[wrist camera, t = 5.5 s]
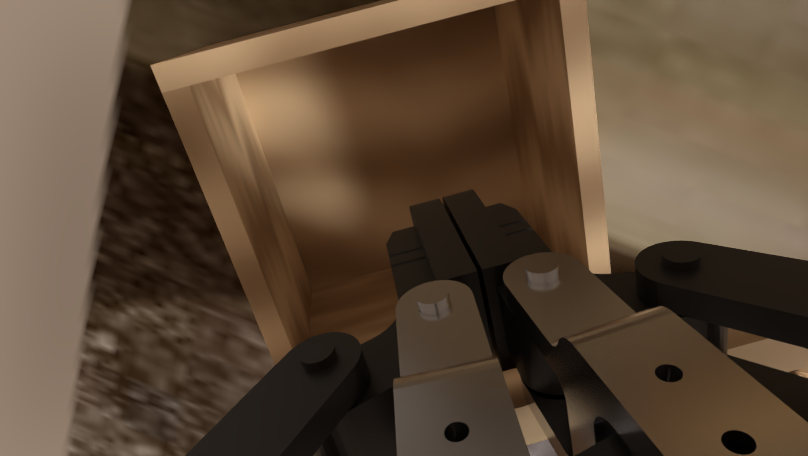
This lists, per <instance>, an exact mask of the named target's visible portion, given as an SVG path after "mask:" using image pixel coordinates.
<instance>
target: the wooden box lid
mask: <svg viewBox="0 0 808 456" xmlns="http://www.w3.org/2000/svg"><path fill="white" fill-rule="evenodd" d="M727 355H731V356H734V357H738V358H741V359H744V360H748V361H751V362H754V363H758V364H761V365H765V366H768V367H771V368H775V369H778V370H782V371H785V372H790V371H794V370H797V369H801V368H804V367H808V349H806V348H803V347H799V346H795V345H791V344H787V343H784V342H780V341H776V340H772V339H768V338H765V337H761V336H757V335H753V334H750V333H746V332H742V331H738V330H734V329H731V328H728V350H727ZM494 356H495V355H494ZM503 376H504V379H505V382H506V385H507V388H508V391H509V394H510V397H511V400H512V403H513V406H514V409H515V412H516V415H517V418H518V421H519V424H520V427H521V430H522V433H523V436H524V439H525V442H526V445H529V444H533V443H536V442H540V441H543V440H547V439H548V438H547V437H546V435H545V433H544V431H543V430H542V428H541V426H540V425H539V423H538V421H537V420H536V418H535V416H534V414H533V413H532V411H531V409H530V408H529V406H528V404H527V403H526V401H525V398H524V394H523V389H522V383H521V377H520V374H519V372H518V370H517V368H514V369H510V370H507V371H503ZM313 456H314V455H313Z"/></svg>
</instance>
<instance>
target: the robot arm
mask: <svg viewBox="0 0 808 456" xmlns="http://www.w3.org/2000/svg"><path fill="white" fill-rule="evenodd" d="M442 202H443V204H442ZM442 202H441V200H440V199H439V198H438V199H434V200H431V201H427V202H423V203H420V204H416V205H412V206H409V209H410V213H411V217H412V221H413V225H414V226H413V227H409V228H405V229H402V230H398V231H394V232H392V234H391V236H390V238H389V240H388V242H387V243H386V247H387V251H388V255H389V260H390V264H391V269H392V273H393V278H394V282H395V287H396V291H397V296H398V300H399V301H398V302H397V305H396V309H395V313H396V319H395V321H394V322H393V323H392V324H391V325H390V326H389V327H388V328H387V329H386V330H385V331H384V332H382V333H381V334H379V335H378V336H376V337H374V338H372V339H370V340H368V341H366V342H364V343H362V344H360V342H359V341H358V339H356V338H355V337H354V336H352V335H350V334H347V333H343V332H329V333H323V334H319V335H316V336H313V337H311V338H309V339H306V340H305V341H303V342H301V343H299V344H298V345H297V346H295V347H294V348H293V349H291V350H290V351H289V352H288V353H287V354H286V355H285V356H284V357H283V358H282V359H281V360H280V361H279V362H278V363H277V364H276V365H275V366H274V367H273V368H272V369H271V370H270V371H269V372H268V373H267V374H266V375H265V376H264V377H263V378H262V379H261V380H260V381H259V382H258V383H257V384H256V385H255V386H254V387H253V388H252V389H251V390H250V391H249V392H248V393H247V394H246V395H245V396H244V397H243V398H242V399H241V400H240V401H239V402H238V403H237V404H236V405H235V406H234V407H233V408H232V409H231V410H230V411H229V412H228V413H227V414H226V415H225V416H224V417H223V418H222V419H221V420H220V421H219V422H218V423H217V424H216V425H215V426H214V427H213V428H212V429H211V430H210V431H209V432H208V433H207V434H206V435H205V436H204V437H203V438H202V439H201V440H200V441H199V442H198V443H197V444H196V445H195V446H194V447H193V449H192V450H191V451H190V452H189V453H188V454H187V455H186V456H313V455H314V456H530V454H529V451H528V448H527V445H526V442H525V439H524V436H523V433H522V430H521V427H520V424H519V421H518V418H517V415H516V412H515V409H514V406H513V403H512V400H511V397H510V394H509V391H508V388H507V385H506V382H505V379H504V376H503V371H507V370H510V369H514V368H517V370H518V372H519V374H520V377H521V383H522V389H523V394H524V398H525V401H526V403H527V404H528V406H529V408H530V409H531V411H532V413H533V414H534V416H535V418H536V420H537V421H538V423H539V425H540V426H541V428H542V430H543V431H544V433H545V435H546V437H547V438H548V440H549V442H550V443H551V445H552V447H553V448H554V450H555V452H556V453H557V455H558V456H808V378H805V377H802V376H799V375H795V374H792V373H788V372H785V371H782V370H778V369H775V368H771V367H768V366H765V365H761V364H758V363H754V362H751V361H748V360H744V359H741V358H738V357H734V356H731V355H727V350H728V328H731V329H734V330H738V331H742V332H746V333H750V334H753V335H757V336H761V337H765V338H768V339H772V340H776V341H780V342H784V343H787V344H791V345H795V346H799V347H803V348H806V349H808V261H806V260H800V259H794V258H788V257H782V256H776V255H770V254H765V253H759V252H753V251H747V250H741V249H735V248H729V247H723V246H718V245H712V244H706V243H700V242H693V241H669V242H663V243H658V244H655V245H652V246H650V247H647V248H646V249H644V250H642V251H641V252H640V253H639V254H638V256H637V257H636V260H635V269H636V272H625V273H612V274H593V273H592V272H591V271H590V270H589V269H588V268H586V267H585V266H584V265H583V264H582V263H581V262H580V261H579V260H577V259H576V258H574V257H572V256H569V255H566V254H562V253H555V252H552V251H551V250H550V249H549V248H548V246H547V245H546V244H545V243H544V242H543V240H542V239H541V238H540V237H539V236H538V234H537V233H536V232H535V231H534V230H532V227H531V226H530V225H529V224H528V222H527V221H525V219H524V218H523V216H522V215H521V214H520V213H519V212H518V210H517V209H515V208H512V207H510V206H507V205H505V204H502V203H498V204H494V205H491V206H487V207H485V205H484V204H483V202H482V201H481V200H480V198H479V197H478V195H477V194H476V192H475V191H474V190H473V189H471V190H468V191H464V192H460V193H457V194H453V195H449V196H445V197H442ZM494 355H495V356H494Z"/></svg>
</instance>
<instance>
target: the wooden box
mask: <svg viewBox="0 0 808 456" xmlns="http://www.w3.org/2000/svg"><path fill="white" fill-rule="evenodd" d="M150 66H151V68H152V71H153V73H154V75H155V78H156V80H157V83H158V85H159V87H160V90H161V92H162V95H163V97H164V100H165V102H166V104H167V107H168V109H169V112H170V114H171V116H172V119H173V121H174V124H175V126H176V128H177V131H178V133H179V136H180V138H181V140H182V143H183V145H184V148H185V150H186V152H187V155H188V157H189V160H190V162H191V164H192V167H193V169H194V172H195V174H196V176H197V179H198V181H199V184H200V186H201V188H202V191H203V193H204V196H205V198H206V200H207V203H208V205H209V208H210V210H211V212H212V215H213V217H214V220H215V222H216V224H217V227H218V229H219V232H220V234H221V236H222V239H223V241H224V244H225V246H226V248H227V251H228V253H229V256H230V258H231V261H232V263H233V265H234V268H235V270H236V273H237V275H238V277H239V280H240V282H241V285H242V287H243V289H244V292H245V294H246V297H247V299H248V301H249V304H250V306H251V309H252V311H253V313H254V316H255V318H256V321H257V323H258V325H259V328H260V330H261V333H262V335H263V337H264V340H265V342H266V345H267V347H268V349H269V352H270V354H271V357H272V359H273V361H274V364H275V365H276V364H277V363H278V362H279V361H280V360H281V359H282V358H283V357H284V356H285V355H286V354H287V353H288V352H289V351H290V350H291V349H293V348H294V347H295V346H297V345H298V344H299V343H301V342H303V341H305V340H306V339H309V338H311V337H313V336H316V335H319V334H323V333H329V332H343V333H347V334H350V335H352V336H354V337H355V338H356V339H358V341H359V342H360V344H362V343H364V342H366V341H368V340H370V339H372V338H374V337H376V336H378V335H379V334H381V333H382V332H384V331H385V330H386V329H387V328H388V327H389V326H390V325H391V324H392V323H393V322H394V321H395V319H396V313H395V309H396V305H397V302H398V301H399V300H398V296H397V291H396V287H395V282H394V278H393V273H392V269H391V264H390V260H389V255H388V251H387V247H386V243H387V242H388V240H389V238H390V236H391V234H392V232H394V231H398V230H402V229H405V228H409V227H413V226H414V225H413V221H412V217H411V213H410V209H409V206H412V205H416V204H420V203H423V202H427V201H431V200H434V199H438V198H439V199H440V200H441V202H442V197H445V196H449V195H453V194H457V193H460V192H464V191H468V190H471V189H473V190H474V191H475V192H476V194H477V195H478V197H479V198H480V200H481V201H482V202H483V204H484V205H485V207H487V206H491V205H494V204H498V203H502V204H505V205H507V206H510V207H512V208H515V209H517V210H518V212H519V213H520V214H521V215H522V216H523V218H524V219H525V221H527V222H528V224H529V225H530V226H531V227H532V230H534V231H535V232H536V233H537V234H538V236H539V237H540V238H541V239H542V240H543V242H544V243H545V244H546V245H547V246H548V248H549V249H550V250H551V251H552V252H555V253H562V254H566V255H569V256H572V257H574V258H576V259H577V260H579V261H580V262H581V263H582V264H583V265H584V266H585V267H586V268H588V269H589V270H590V271H591V272H592V273H593V274H611V268H610V257H609V246H608V235H607V224H606V213H605V202H604V191H603V180H602V169H601V158H600V148H599V137H598V126H597V115H596V104H595V93H594V82H593V71H592V60H591V49H590V38H589V27H588V16H587V5H586V0H380V1H376V2H372V3H368V4H365V5H361V6H357V7H353V8H349V9H345V10H342V11H338V12H334V13H330V14H326V15H322V16H319V17H315V18H311V19H307V20H303V21H299V22H296V23H292V24H288V25H284V26H280V27H277V28H273V29H269V30H265V31H261V32H257V33H254V34H250V35H246V36H242V37H238V38H234V39H231V40H227V41H223V42H219V43H215V44H211V45H208V46H205V47H202V48H199V49H196V50H193V51H190V52H187V53H185V54H182V55H179V56H176V57H173V58H170V59H167V60H164V61H161V62H158V63H155V64H152V65H150ZM442 204H443V202H442Z"/></svg>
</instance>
